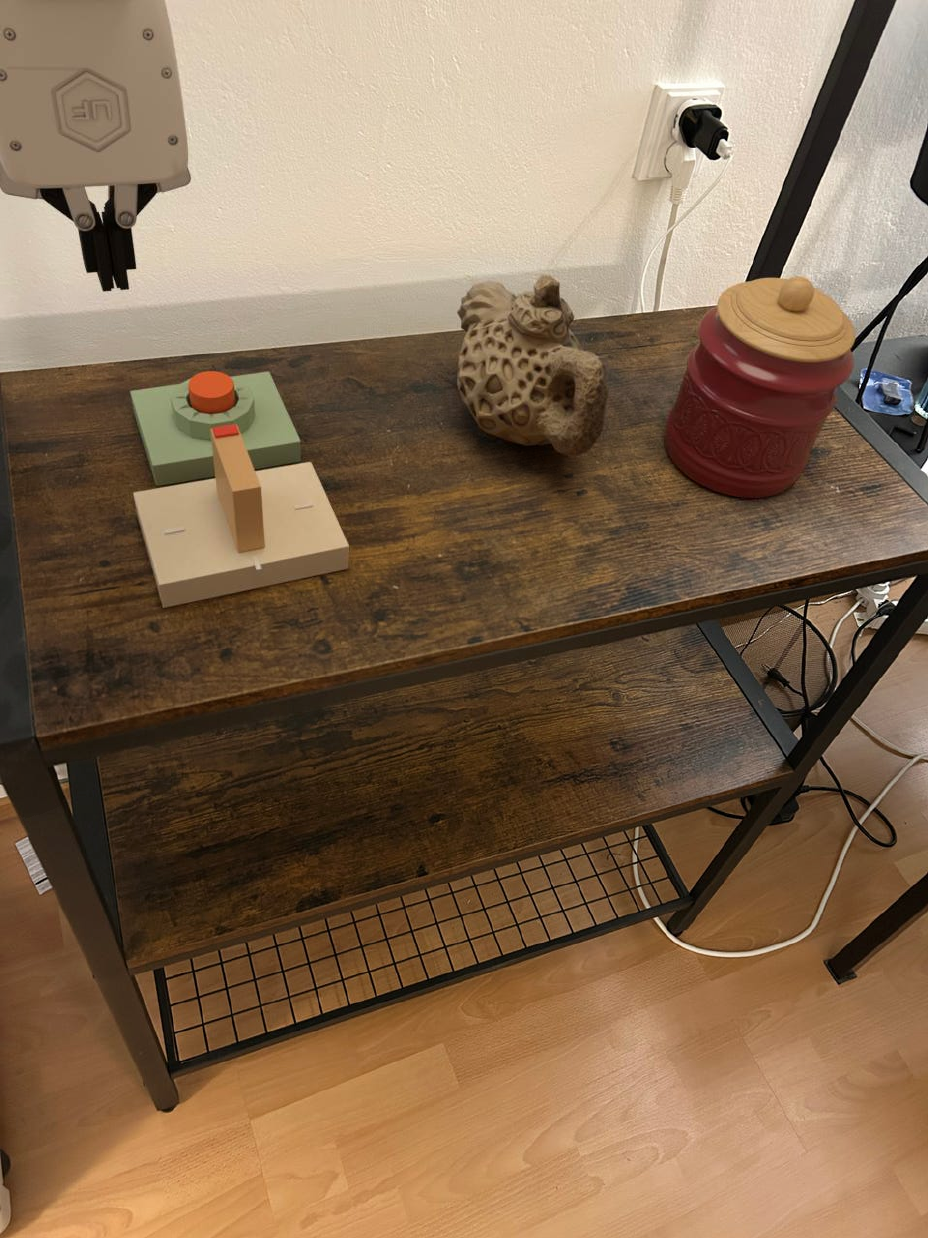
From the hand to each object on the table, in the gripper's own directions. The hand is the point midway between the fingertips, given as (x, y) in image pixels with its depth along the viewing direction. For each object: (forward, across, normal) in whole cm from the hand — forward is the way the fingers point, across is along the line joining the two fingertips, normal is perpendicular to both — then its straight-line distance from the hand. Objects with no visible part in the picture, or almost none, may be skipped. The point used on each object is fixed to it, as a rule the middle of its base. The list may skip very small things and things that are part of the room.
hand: (112, 279), depth 62 cm
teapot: (+19, +33, +1) cm, 38 cm away
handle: (+17, +6, -6) cm, 19 cm away
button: (+16, +7, +7) cm, 19 cm away
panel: (+20, +6, -6) cm, 21 cm away
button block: (+19, +7, +8) cm, 22 cm away
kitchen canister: (+19, +51, -7) cm, 55 cm away
